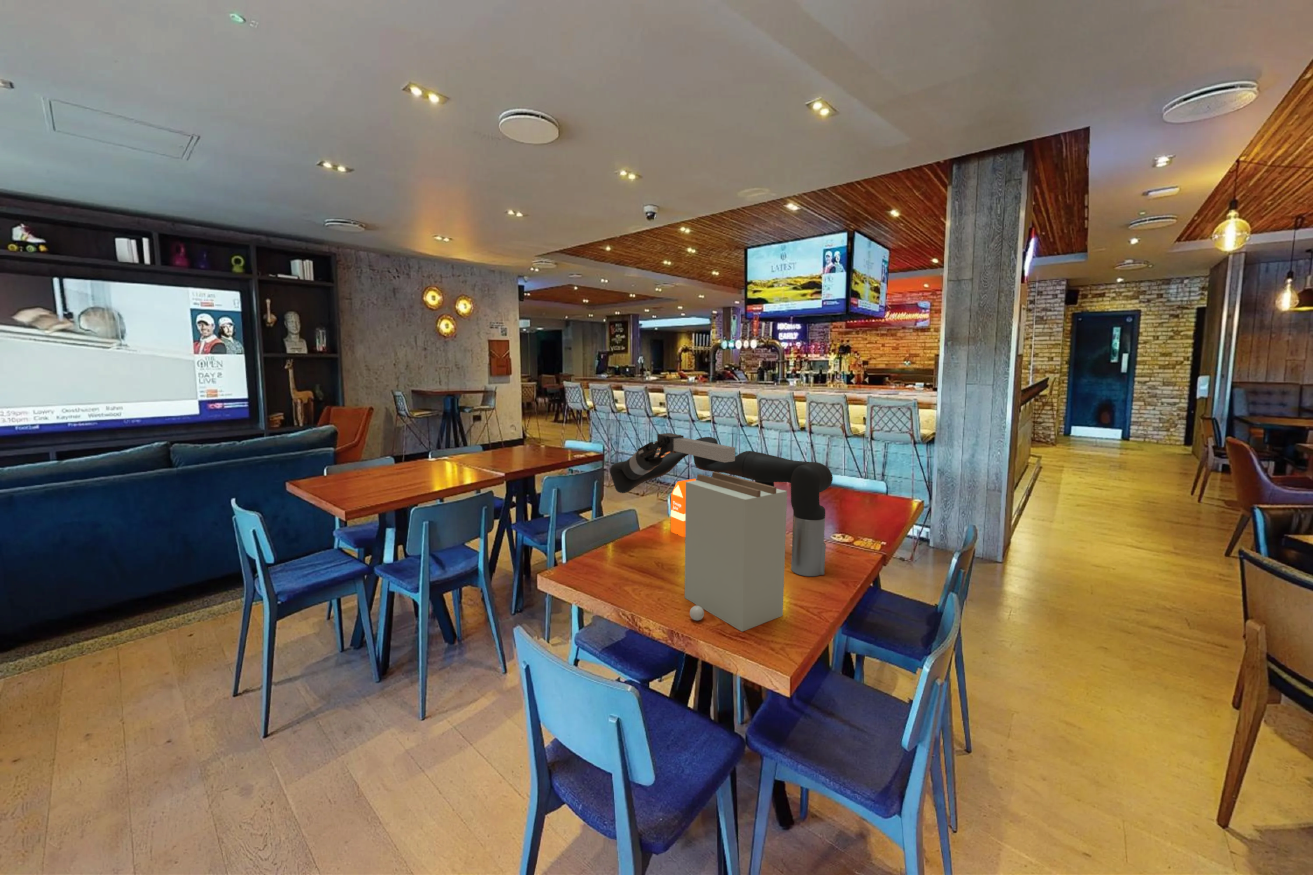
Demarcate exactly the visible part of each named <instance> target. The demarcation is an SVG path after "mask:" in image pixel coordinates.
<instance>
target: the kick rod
mask: <svg viewBox="0 0 1313 875" xmlns="http://www.w3.org/2000/svg"><path fill="white" fill-rule="evenodd" d="M664 436H667V438H668V441H669V443H668V444H666V445H665V446H664V447H662V448H661V449H660V450H664V451H668V452H681V453H686V454H689V455H691V456H693V455H694V456H699V457H703V458H707V459H712V460H716V461H720V462H732V461H735V456H736V447H735V446H729V445H723V444H720V443H718V444H714V443H709V442H704V441H699V440H696V439H693V438H687V437H684V435H682V434H678V433H677V434H676V433H670V432H666V433H665V432H663V433H657V434H656V441H659V440H660V439H661V438H663V437H664Z"/></svg>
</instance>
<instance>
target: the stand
mask: <svg viewBox="0 0 1313 875" xmlns="http://www.w3.org/2000/svg"><path fill="white" fill-rule="evenodd" d="M711 472H712V471H711ZM711 474H712V476H708V475H705V474H701V473H699V474H696V476H697V477H696V480H695V481H689V482H686V509H685V537H684V541H685V542H684V599H686V600H688V601H689V602H691V603H693V604H694V605H695V606H700V607H702V609H703V610H704V611H706V612H708V613H710V614H711V615H713V616H715V617H716V618H719V619H720V620H722V622H723V621H724V622H725V623H727V624H729V625H730V626H732V627H734V628H735V629H736V630H738V631H740V632H742V633H743V632H744V631H745V632H746V631H747V630H750V629H752V628H755V627H757V626H760V625H763V624H765V623H767V622H771V621H774V620H775V619H777V618H780V617H782V616H783V615H784V614H783V613H784V591H785V590H784V587H785V563H786V560H785V559H786V538H787V537H786V536H787V535H786V534H787V533H786V532H787V504H788V503H787V502H788V491H787V490H784V489H780V488H777V487H776V486H774V487H773V486H769V485H765V484H761V483H757V482H755V481H754V480H750V479H746V478H742V477H738V476H735V475H731V474H727V473H720V472H712V473H711Z"/></svg>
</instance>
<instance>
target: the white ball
mask: <svg viewBox="0 0 1313 875" xmlns="http://www.w3.org/2000/svg"><path fill="white" fill-rule="evenodd" d="M689 616H690V618H691V619H692V620H693V621H702V619H703V618H704V616H705V610H704V609H703V608H702V607H700V606H698V605H694V606H692V607H691V608H690V610H689Z"/></svg>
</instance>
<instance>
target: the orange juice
mask: <svg viewBox="0 0 1313 875" xmlns="http://www.w3.org/2000/svg"><path fill="white" fill-rule="evenodd" d="M695 480H697V478H692V479H687V480H685V479H684V480H679V481H677V482H676V483H675V486H674V487H673V489H672V492H671V494H670V532H671V533H672V534H673V533H674V534H675V535H677V534H678V535H677V536H680V537H681V538H685V509H686V482H689V481H695Z"/></svg>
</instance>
